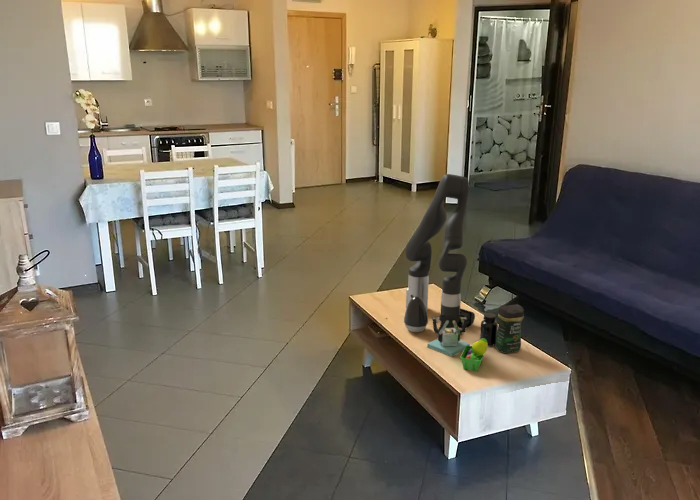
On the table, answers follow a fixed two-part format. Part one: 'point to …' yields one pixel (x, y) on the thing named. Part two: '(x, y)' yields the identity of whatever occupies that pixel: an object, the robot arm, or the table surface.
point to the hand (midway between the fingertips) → (448, 341)
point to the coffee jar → (509, 328)
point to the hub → (448, 349)
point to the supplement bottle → (489, 328)
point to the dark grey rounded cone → (416, 315)
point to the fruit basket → (474, 355)
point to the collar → (449, 337)
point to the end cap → (468, 315)
